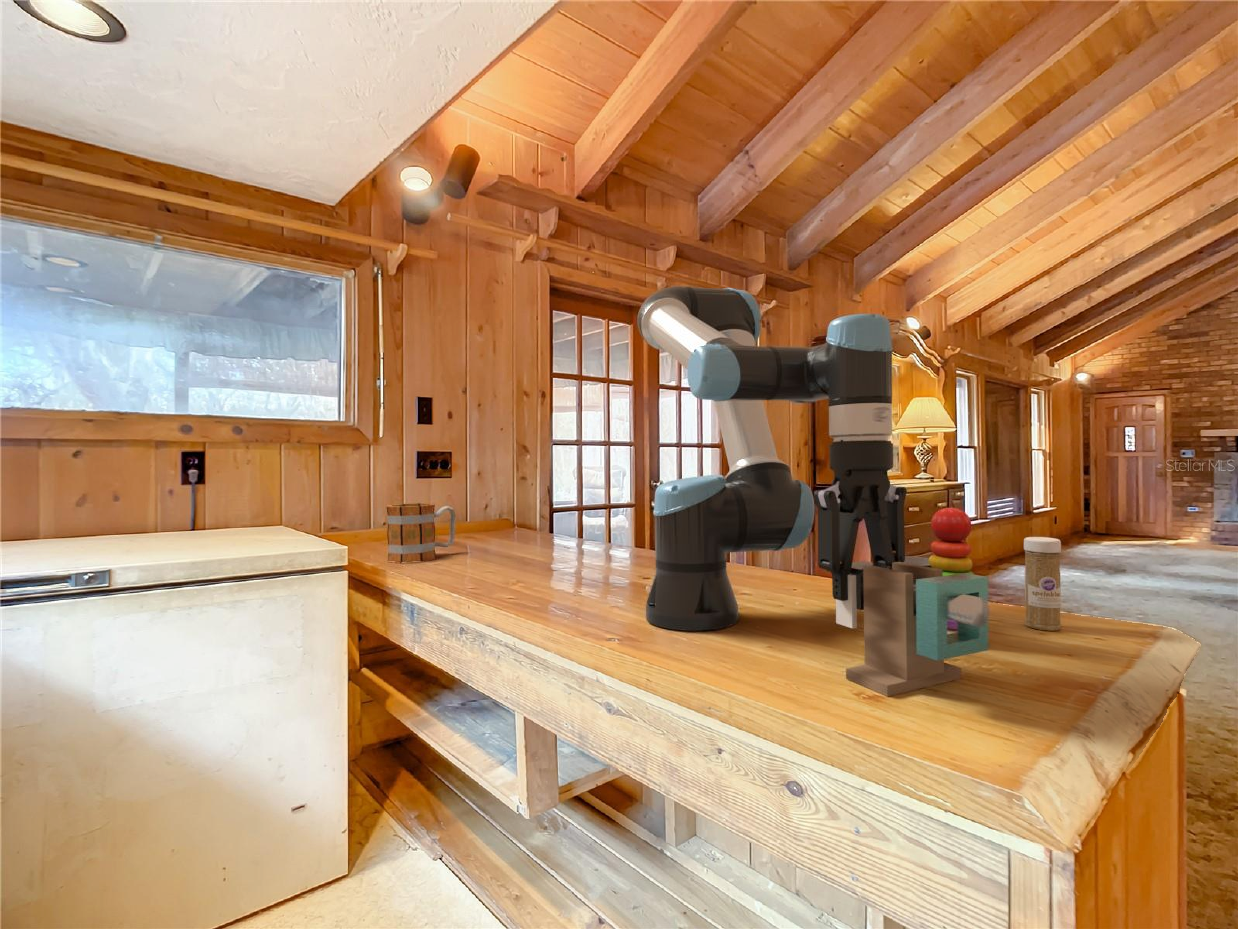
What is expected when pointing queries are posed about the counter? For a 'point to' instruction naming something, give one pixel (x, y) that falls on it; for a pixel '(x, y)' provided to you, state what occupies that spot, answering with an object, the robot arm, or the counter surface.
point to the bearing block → (895, 634)
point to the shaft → (957, 606)
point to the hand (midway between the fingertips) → (863, 622)
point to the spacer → (934, 617)
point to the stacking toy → (951, 547)
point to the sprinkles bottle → (1042, 583)
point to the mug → (414, 531)
